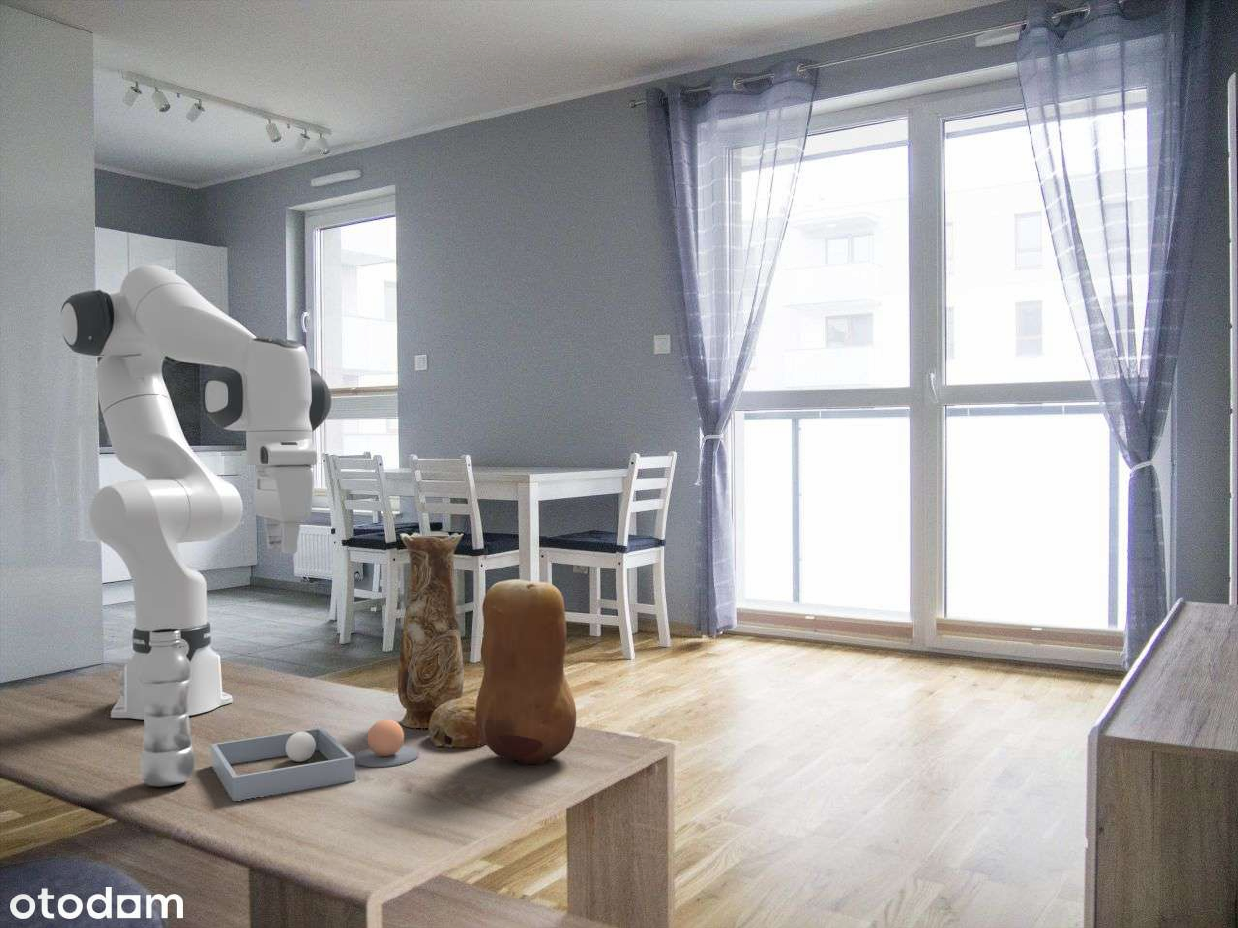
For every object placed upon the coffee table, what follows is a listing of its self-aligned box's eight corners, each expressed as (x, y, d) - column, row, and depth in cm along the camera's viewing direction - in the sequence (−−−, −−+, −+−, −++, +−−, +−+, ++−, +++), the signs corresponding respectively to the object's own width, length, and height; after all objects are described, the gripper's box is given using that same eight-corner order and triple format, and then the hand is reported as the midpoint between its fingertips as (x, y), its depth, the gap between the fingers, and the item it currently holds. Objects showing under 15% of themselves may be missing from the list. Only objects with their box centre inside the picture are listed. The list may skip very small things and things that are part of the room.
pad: (345, 754, 140) (345, 752, 140) (406, 744, 145) (406, 742, 145) (363, 771, 133) (363, 769, 133) (427, 760, 137) (427, 758, 137)
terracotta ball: (362, 752, 140) (363, 717, 139) (397, 746, 142) (397, 712, 142) (373, 764, 135) (373, 728, 135) (408, 758, 138) (409, 723, 138)
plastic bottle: (160, 796, 124) (157, 636, 124) (129, 787, 128) (126, 632, 128) (206, 781, 130) (203, 628, 129) (174, 773, 133) (172, 624, 133)
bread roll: (423, 766, 146) (409, 723, 143) (453, 721, 155) (441, 679, 152) (482, 773, 143) (470, 729, 140) (510, 725, 152) (499, 683, 148)
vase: (433, 710, 164) (430, 530, 164) (479, 720, 158) (476, 532, 158) (384, 724, 156) (381, 534, 156) (430, 735, 150) (427, 537, 149)
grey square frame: (211, 766, 136) (210, 744, 136) (321, 748, 144) (321, 727, 144) (233, 802, 121) (233, 778, 121) (355, 780, 129) (354, 757, 129)
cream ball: (283, 759, 138) (282, 731, 138) (312, 755, 140) (311, 727, 140) (289, 767, 135) (288, 738, 135) (319, 762, 137) (318, 733, 137)
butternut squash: (573, 743, 144) (570, 572, 144) (580, 772, 131) (577, 584, 131) (476, 748, 143) (474, 574, 142) (474, 778, 129) (471, 587, 129)
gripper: (242, 453, 146) (244, 547, 147) (271, 452, 129) (273, 558, 129) (286, 453, 150) (288, 544, 150) (320, 451, 132) (322, 555, 132)
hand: (281, 550), depth 139 cm, fingers open, 8 cm apart
